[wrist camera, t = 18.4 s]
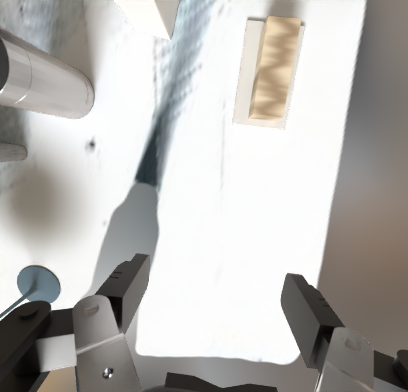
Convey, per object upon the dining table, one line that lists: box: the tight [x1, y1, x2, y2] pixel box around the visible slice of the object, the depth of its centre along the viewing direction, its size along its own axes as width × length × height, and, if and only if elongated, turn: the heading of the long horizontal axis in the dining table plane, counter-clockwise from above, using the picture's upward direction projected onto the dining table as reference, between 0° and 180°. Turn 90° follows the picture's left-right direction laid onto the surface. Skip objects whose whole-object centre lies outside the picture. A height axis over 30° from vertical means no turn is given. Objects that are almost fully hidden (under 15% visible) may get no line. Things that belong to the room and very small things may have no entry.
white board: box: [232, 20, 305, 130], centre depth 38 cm, size 10×17×1 cm, turn 174°
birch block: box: [248, 16, 301, 121], centre depth 35 cm, size 5×5×14 cm
